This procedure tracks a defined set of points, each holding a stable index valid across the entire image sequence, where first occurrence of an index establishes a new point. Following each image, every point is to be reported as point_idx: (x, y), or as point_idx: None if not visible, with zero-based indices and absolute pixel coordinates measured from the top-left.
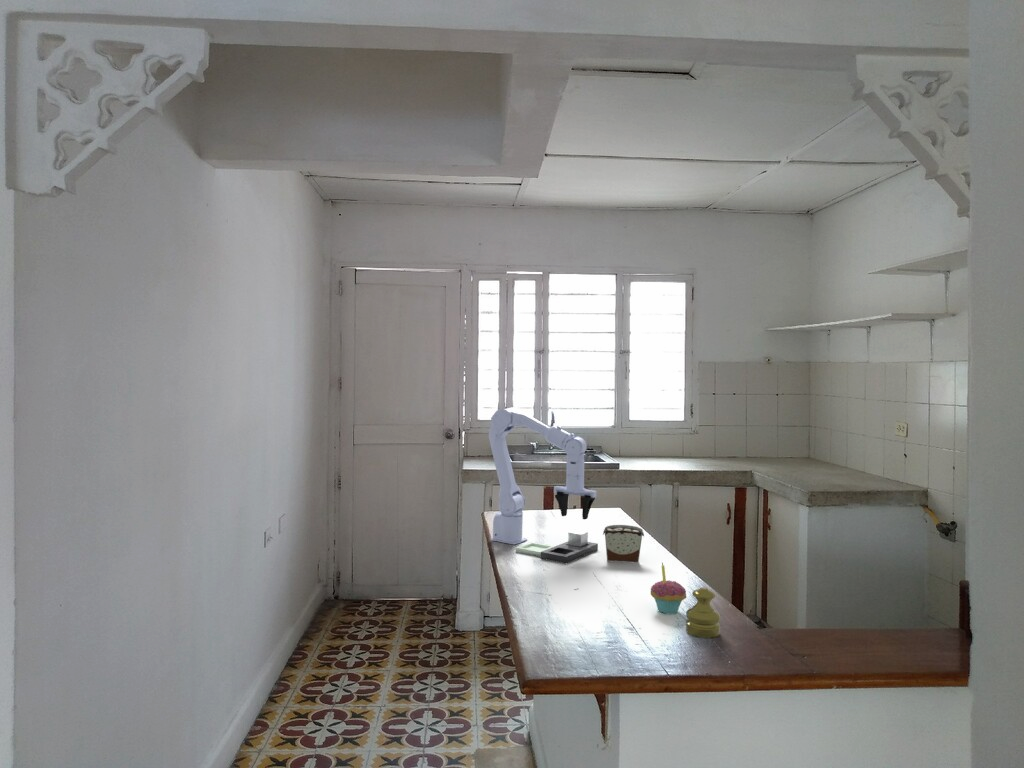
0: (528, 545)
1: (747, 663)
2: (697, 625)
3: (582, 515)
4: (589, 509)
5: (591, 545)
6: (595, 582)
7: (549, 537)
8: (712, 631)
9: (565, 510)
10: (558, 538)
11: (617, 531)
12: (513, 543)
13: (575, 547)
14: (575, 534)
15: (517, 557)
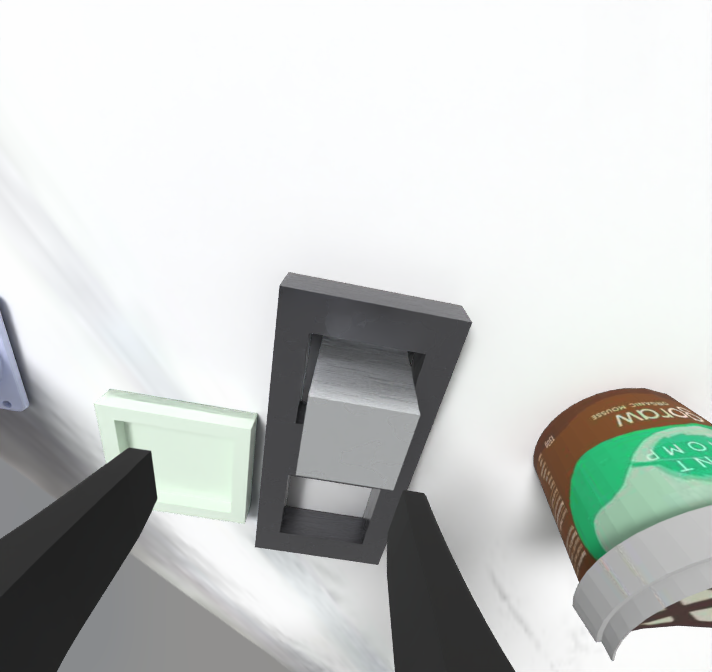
0: (122, 445)
1: None
2: None
3: (389, 583)
4: (473, 610)
5: (439, 377)
6: (511, 629)
7: (24, 120)
8: None
9: (110, 521)
10: (97, 116)
11: (698, 623)
12: (20, 410)
13: None
14: (351, 478)
15: (182, 534)
